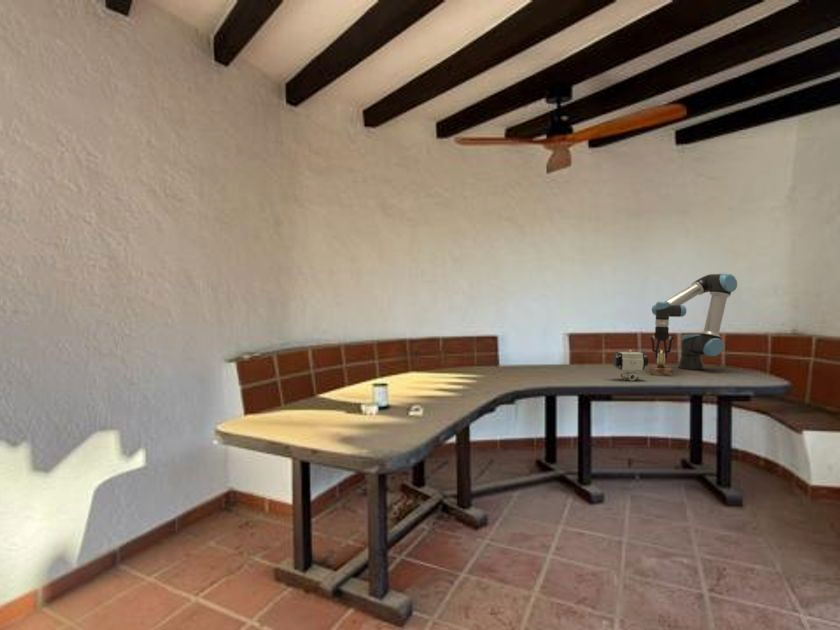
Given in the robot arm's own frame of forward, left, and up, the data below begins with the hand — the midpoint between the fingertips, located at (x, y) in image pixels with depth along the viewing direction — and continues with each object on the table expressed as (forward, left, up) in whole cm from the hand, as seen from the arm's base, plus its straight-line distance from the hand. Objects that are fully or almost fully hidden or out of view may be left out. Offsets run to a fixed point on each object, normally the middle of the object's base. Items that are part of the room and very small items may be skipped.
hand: (660, 363), depth 303 cm
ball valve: (+19, +31, -7) cm, 37 cm away
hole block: (0, 0, -7) cm, 7 cm away
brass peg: (0, 0, -4) cm, 4 cm away
